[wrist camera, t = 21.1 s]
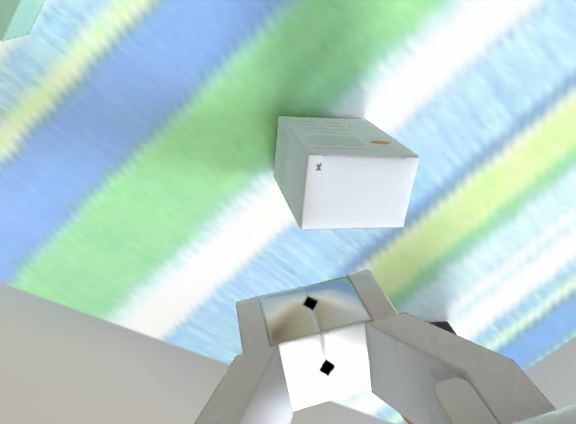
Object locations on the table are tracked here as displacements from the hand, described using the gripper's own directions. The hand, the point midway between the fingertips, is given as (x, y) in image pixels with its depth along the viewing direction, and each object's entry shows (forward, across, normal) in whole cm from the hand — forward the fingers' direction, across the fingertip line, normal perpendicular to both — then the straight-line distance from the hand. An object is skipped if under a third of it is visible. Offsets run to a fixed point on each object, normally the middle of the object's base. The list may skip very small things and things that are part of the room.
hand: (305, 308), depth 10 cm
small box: (+29, -7, +7) cm, 31 cm away
